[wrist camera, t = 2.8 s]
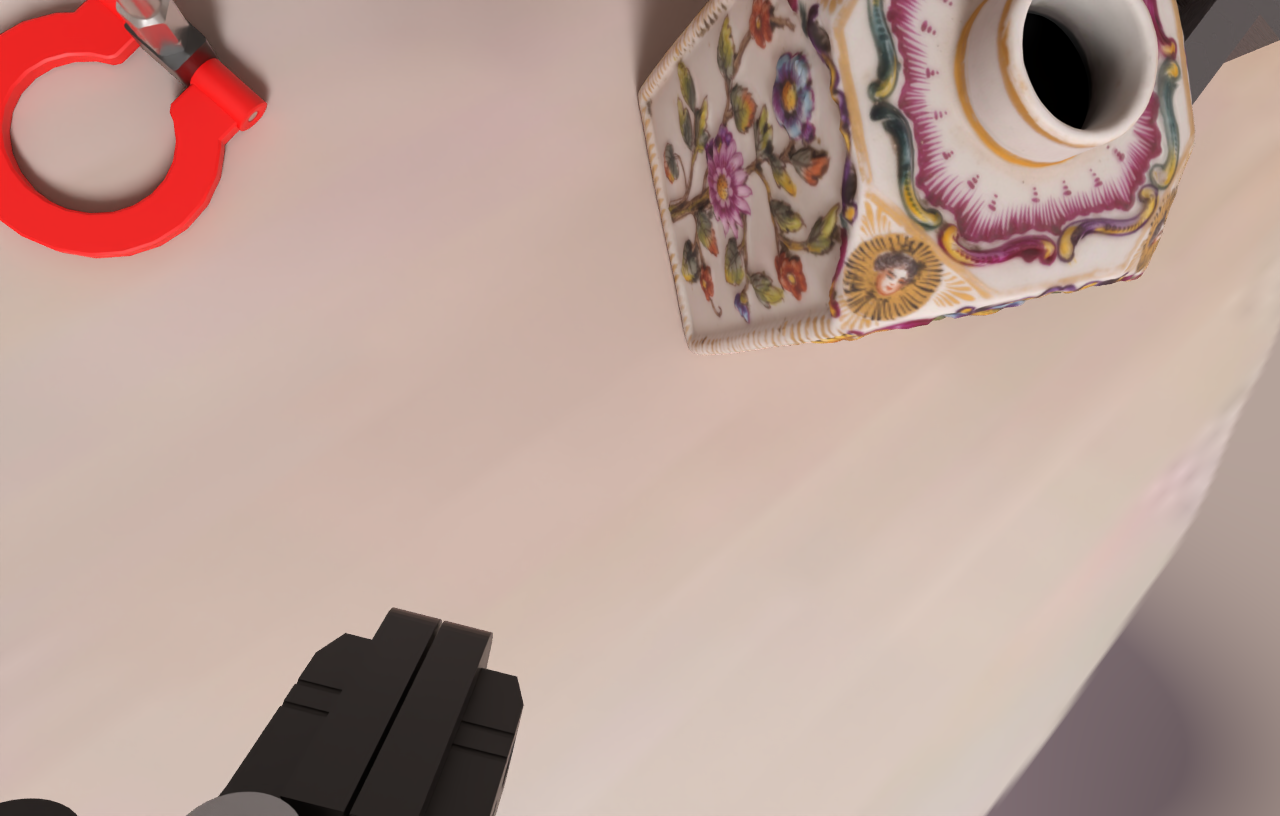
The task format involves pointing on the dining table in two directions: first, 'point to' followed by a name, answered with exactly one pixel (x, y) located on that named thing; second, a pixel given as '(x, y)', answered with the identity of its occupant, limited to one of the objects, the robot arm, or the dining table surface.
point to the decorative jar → (909, 159)
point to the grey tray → (1224, 33)
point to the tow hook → (203, 114)
